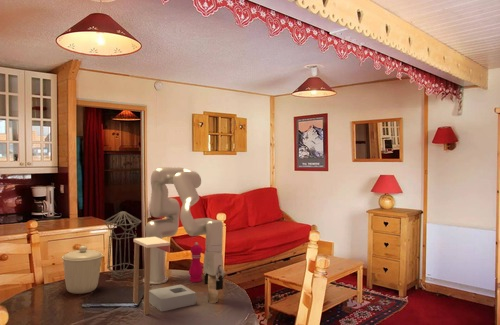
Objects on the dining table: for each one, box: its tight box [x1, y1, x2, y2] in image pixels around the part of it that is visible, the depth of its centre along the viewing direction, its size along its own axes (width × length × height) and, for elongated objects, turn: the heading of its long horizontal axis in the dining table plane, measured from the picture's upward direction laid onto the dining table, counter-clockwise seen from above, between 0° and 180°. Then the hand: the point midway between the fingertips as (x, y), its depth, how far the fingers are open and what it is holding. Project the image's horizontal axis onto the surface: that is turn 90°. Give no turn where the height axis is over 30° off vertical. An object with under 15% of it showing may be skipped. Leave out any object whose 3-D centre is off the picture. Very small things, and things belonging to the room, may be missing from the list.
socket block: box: [149, 284, 197, 313], centre depth 172 cm, size 14×16×5 cm
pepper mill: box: [188, 241, 204, 283], centre depth 206 cm, size 7×7×20 cm
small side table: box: [132, 237, 171, 316], centre depth 166 cm, size 15×10×28 cm, turn 37°
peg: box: [207, 274, 219, 304], centre depth 175 cm, size 4×4×12 cm
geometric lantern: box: [103, 210, 143, 280], centre depth 211 cm, size 16×16×35 cm
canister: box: [61, 245, 104, 295], centre depth 186 cm, size 18×18×21 cm
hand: (213, 286), depth 175 cm, fingers open, 9 cm apart
